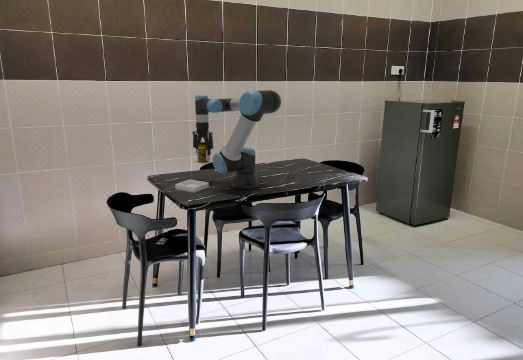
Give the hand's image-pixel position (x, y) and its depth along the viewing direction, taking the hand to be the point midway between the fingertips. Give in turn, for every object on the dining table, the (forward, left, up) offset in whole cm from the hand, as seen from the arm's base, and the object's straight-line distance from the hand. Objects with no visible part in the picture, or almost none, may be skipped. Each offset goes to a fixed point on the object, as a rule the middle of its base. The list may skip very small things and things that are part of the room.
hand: (203, 159), depth 239 cm
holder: (-3, +15, -14) cm, 21 cm away
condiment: (+1, 0, -2) cm, 2 cm away
